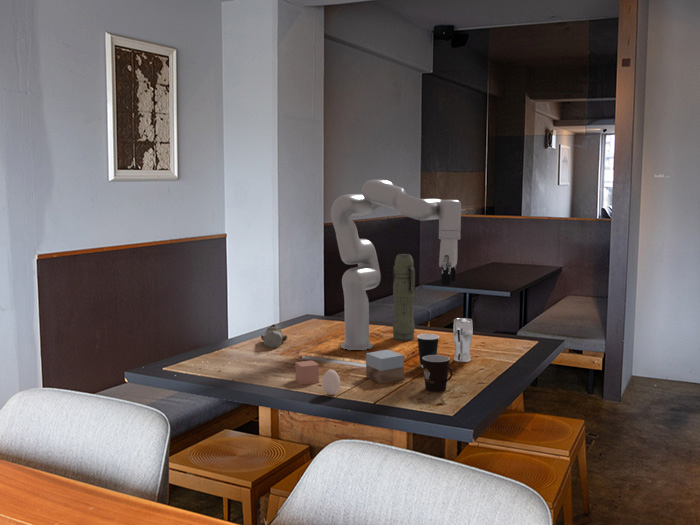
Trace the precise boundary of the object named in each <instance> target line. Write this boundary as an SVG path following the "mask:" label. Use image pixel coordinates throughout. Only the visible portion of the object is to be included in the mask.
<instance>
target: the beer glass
mask: <svg viewBox="0 0 700 525" xmlns="http://www.w3.org/2000/svg"><path fill="white" fill-rule="evenodd" d="M473 326H474V325H473V319H472V318H467V317H460V318H459V317H457V318H454V319H453V328H452V329H453V330H452V332H453V335H452V336H453V340H454V347H455V348H454V350H455V351H454V356H453V357H454V358H453V360H454V361H455V362H458V363H469V362H471V361H472V358H471V345H472V340H473V335H474V334H473V330H474V329H473Z"/></svg>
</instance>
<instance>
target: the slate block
mask: <svg viewBox="0 0 700 525" xmlns="http://www.w3.org/2000/svg"><path fill="white" fill-rule="evenodd" d="M404 356H405V355H404V354H402V353H399V352H396V351H394V350H391V349H383V350H377V351H372V352H366V353H365V366H366V365H367V366H370V367H373V368H375V369H378V370H380V371H384V370H390V369H395V368H400V367H404V368H405V363H404V362H405V359H404V358H405V357H404Z"/></svg>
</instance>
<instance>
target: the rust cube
mask: <svg viewBox="0 0 700 525" xmlns="http://www.w3.org/2000/svg"><path fill="white" fill-rule="evenodd" d="M319 370H320V365H319V363H317V362H316V361H314V360H305V361H295V380H296V382H298V383H299V384H300V385H308V384H316V383H320V380H319V379H320V377H319V376H320V375H319V374H320V373H319V372H320V371H319Z"/></svg>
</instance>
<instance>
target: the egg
mask: <svg viewBox="0 0 700 525" xmlns="http://www.w3.org/2000/svg"><path fill="white" fill-rule="evenodd" d="M321 382H322V383H321V385H322V388H323V391H324V393H326V395H329V396H334V395H336V394H337V393H338V391H339V389H340V387H341V379H340V376H339V374H338V373H337V372H336V370H335V369H328V370H327V371H326V372H324V375H323V377H322V380H321Z"/></svg>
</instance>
